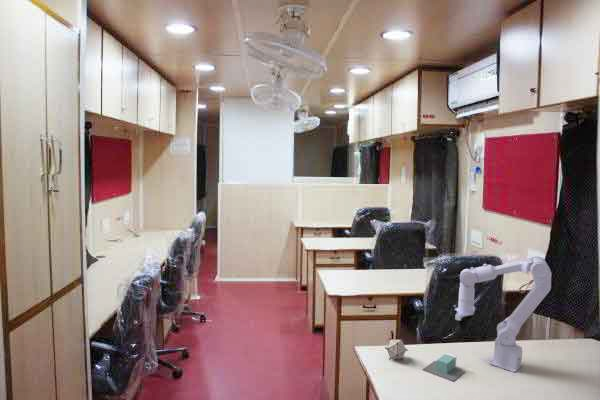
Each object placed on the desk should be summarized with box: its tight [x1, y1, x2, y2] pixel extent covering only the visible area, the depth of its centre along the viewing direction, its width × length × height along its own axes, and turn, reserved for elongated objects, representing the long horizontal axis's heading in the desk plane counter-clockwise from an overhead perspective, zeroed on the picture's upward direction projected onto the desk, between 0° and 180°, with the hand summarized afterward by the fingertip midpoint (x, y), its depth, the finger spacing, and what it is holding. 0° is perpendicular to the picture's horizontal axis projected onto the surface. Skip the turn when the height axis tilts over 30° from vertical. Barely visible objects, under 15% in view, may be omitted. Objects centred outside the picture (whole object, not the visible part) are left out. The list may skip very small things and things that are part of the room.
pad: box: [422, 360, 466, 382], centre depth 169 cm, size 12×10×1 cm
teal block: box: [436, 352, 458, 374], centre depth 171 cm, size 4×4×8 cm
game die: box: [384, 337, 409, 362], centre depth 178 cm, size 9×8×10 cm
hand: (464, 333), depth 180 cm, fingers closed
